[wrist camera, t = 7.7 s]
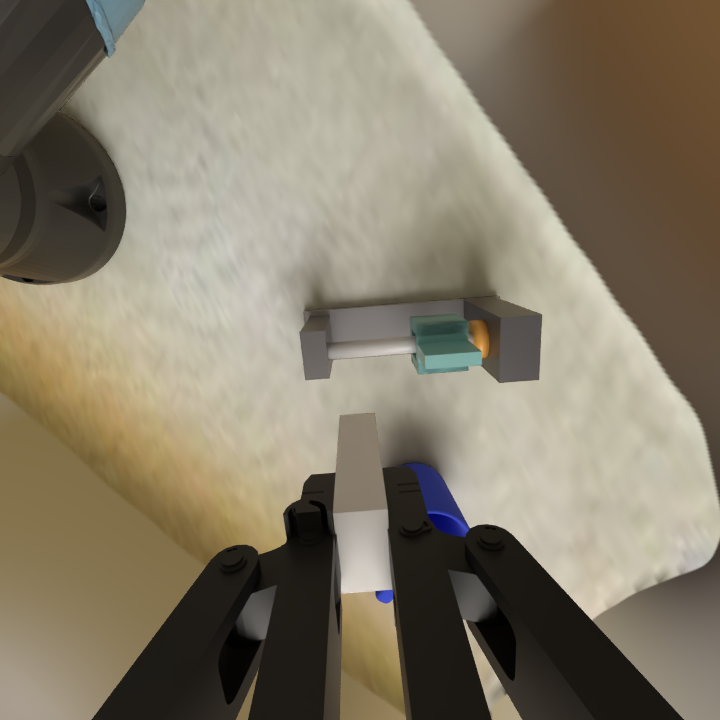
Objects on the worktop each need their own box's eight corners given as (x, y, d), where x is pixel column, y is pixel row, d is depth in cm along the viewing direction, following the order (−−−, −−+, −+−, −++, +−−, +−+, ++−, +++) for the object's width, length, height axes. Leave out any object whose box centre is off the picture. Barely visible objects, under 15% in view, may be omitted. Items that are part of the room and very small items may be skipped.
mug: (345, 522, 47) (343, 594, 37) (401, 440, 44) (414, 495, 34) (405, 552, 48) (418, 629, 38) (463, 474, 45) (493, 535, 36)
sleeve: (411, 360, 36) (426, 389, 29) (409, 316, 35) (424, 334, 28) (456, 357, 36) (481, 385, 29) (455, 313, 35) (482, 330, 28)
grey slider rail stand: (310, 359, 41) (295, 398, 31) (304, 310, 40) (287, 334, 29) (496, 344, 41) (545, 379, 31) (497, 295, 40) (549, 313, 29)
